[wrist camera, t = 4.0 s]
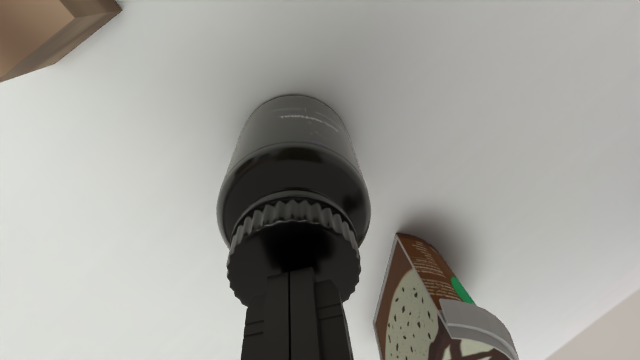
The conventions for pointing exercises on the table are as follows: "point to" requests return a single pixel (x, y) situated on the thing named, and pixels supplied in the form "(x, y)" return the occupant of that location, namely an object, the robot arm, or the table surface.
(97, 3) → the walnut block
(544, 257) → the table surface
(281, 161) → the supplement bottle
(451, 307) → the food container
